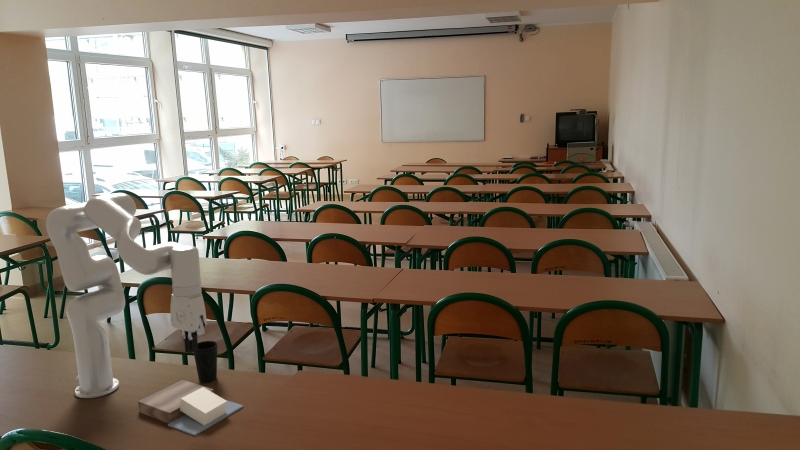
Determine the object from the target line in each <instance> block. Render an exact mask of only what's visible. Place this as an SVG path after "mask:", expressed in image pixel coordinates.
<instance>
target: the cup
mask: <svg viewBox="0 0 800 450" xmlns="http://www.w3.org/2000/svg"><path fill="white" fill-rule="evenodd" d="M193 355H194V356H193V357H194V361H195V367H196V372H197V376H198V377H197V378H198V381H199V383H200V382H201V384H210V382H211V383H213V382H215V381H216V380H217V379H218V376H217V374H218V342H216V341H214V340H205V341H200V342H198V350H196V351H194V352H193Z"/></svg>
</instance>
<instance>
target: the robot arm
mask: <svg viewBox="0 0 800 450" xmlns="http://www.w3.org/2000/svg"><path fill="white" fill-rule="evenodd" d="M136 212H137V205H136V203H135V201H134V199H133V198H132V196H130V195H129V194H127V193H125V192H114V193H109V194H108V193H107V194H102V195H98V196H93V197H91V198H90V199H88V200H87V201H85V202H78V203H72V204H67V205H63V206H59V207H56V208H55V209H53V210H51V211H50V212H49V213H48V215H47V217H46V222H45V227H46V232H47V234H48V238H49V239H50V242H51V243H52V245H53V247H54V249H55V252H56V255H57V260H58V264H59V268H60V271H61V272H60V273H61V274H62V278H63V283H64V285H65V287H66V288H67V290H68V291H70V292H80V291H85V290H89V289H92V288H94V287H97V289H96V290H94V291H91V292H87V293H84V294H81V295H78V296H76V297H74V298H72V299H71V300H70V301H69V302H68V304H67V305H66V308H65V313H66V318H67V320H68V323H69V325H70V329H71V334H72V339H73V344H74V345H73V346H74V352H75V360H76V367H77V374H78V375H76V377H75V379H76V380H78V382H79V383H78V386H76V388H75V389H74V395H75V396H76V397H78V398H80V399H93V398H100V397H103V396H105V395H106V396H107V395H109V394H111V393H112V392H114V391H115V390H117V389H118V388H119V387H120V381H119V380H118V379H117V378H114V375H113V367H112V359H111V349H110V342H109V334H108V333H107V331H106V329H105V328H104V327H103V326H102V325H101V323H100V322H102V321H104V320H107V319H109V318H111V317H114V316H117V315H119V314H120V313H122V312H123V311H124V310H125V306H126V299H125V298H126V297H125V294H124V289H123V285H122V284H123V283H122V281H121V277H120V272H119V269H118V265H117V263H115V261H114V259H113V258H112V257H110V256H109V255H106V254H96V255H92V256H91V255H90V252H89V248H88V244H87V242H86V241H85V240H84V239H83V238H82V237H81V235H79V234H78V232H83V231H88V230H93V229H98V228H99V229H100V230H101V231H103V232H104V233H106V234H107V235H108V236H109V237H111V238H112V239H114V240H115V241H116V250H117V253H118V255H119V257H120V259H121V260H122V261H123V262H124V264H126V265H127V266H129V267H130V268H131V269H132V270H134V271H136V272H137V273H139V274H141V275H144V276H150V275H151V276H152V275H155V274H157V273H158V274H159V273H160V272H164V271H167V270H170V273H171V284H172V287H171V288H172V294H171V296H170V297H171V298H170V313H169V315H170V325H171V326H172V328H174V329H177V330H178V331H180V333H181V336H182V339H184V350H185V351H184V352H185V353H188V354H191V353H194V351H196V350H198V343H199V342H198V338H199V337H200V336H202V335H205V334H206V331H205V329H206V327H207V314H206V312H207V311H206V306H205V301H204V297H203V294H202V283H201V269H200V267H201V266H200V254H199V253H200V252H199V249H198V248H197V247H196V246H194V245H187V244H186V245H184V244H181V243H179V242H176V241H167V242H163V243H159V244H155V245H152V246H151V245H150V246H147V247H144V246H142V245H140V244H138V243H137V242H136V241H135V239H136V238H137V237H138V236H139V234H140V232H141V230H142V222H141V220H140V219H139V218H138V217H136V216H135V214H136Z"/></svg>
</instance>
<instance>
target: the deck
mask: <svg viewBox="0 0 800 450" xmlns="http://www.w3.org/2000/svg"><path fill="white" fill-rule="evenodd" d="M202 387H204V388H206V389H207V390H209V391H211V392H212V393H214V394H215V390H214V389H213V388H210V387H207V386H204V385H201V384H197V383H194V382H190V381H188V380H185V379H181V380H180V381H176V382H175V383H173V384H171V385H169V386H167V387H164V388H163V389H161V390H159V391H156V392H154V393H152V394H150V395H149V396H146V397H144V398H142V399H139V400H138V401H137V405H138V413H140V414H142V415H146V416H148V417H150V418H153V419H155V420H159V421H161V422H164V423H165V424H166V423H167V424H169V423H171V422H173V421H175V420H176V419H178V418H180V417H182V416H184V415H185V413H183V412H182V411H180V404H181V398H183V397H185V396H187V395H188V394H190V393H192V392H194V391H196V390H198V389H200V388H202Z"/></svg>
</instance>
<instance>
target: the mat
mask: <svg viewBox="0 0 800 450" xmlns="http://www.w3.org/2000/svg"><path fill="white" fill-rule="evenodd" d="M225 400H226V401H227V408H226V413H225V414H223V415H222V416H220V417H218V418H217V419H215V420H213V421H211V422H210V423H208V424H206V425H205V426H204V425H203V424H201V423H199V422H198V421H196V420H195V419H193V418H191V417H190V416H188V415H187V414H185V415H184V416H182V417H180V418H178V419H176V420H175V421H173V422H171V423H167V426H168V427H170V428H173V429H174V430H177V431H181V432H183V433H185V434H188V435H190V436H194V437H196V436H197V435H199V434H200V433H202V432H204V431H206V430H207V429H209V428H211V427H212V426H215V425H216V424H217V423H219V422H221V421H222V420H224V419H226V418H227V417H228V418H229V416H231V415H233V414H234V413H236V412H238V411H239V410H240V409H243V408H244V405H243V404H239V403H237V402H234V401H229V400H227V399H225Z"/></svg>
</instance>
